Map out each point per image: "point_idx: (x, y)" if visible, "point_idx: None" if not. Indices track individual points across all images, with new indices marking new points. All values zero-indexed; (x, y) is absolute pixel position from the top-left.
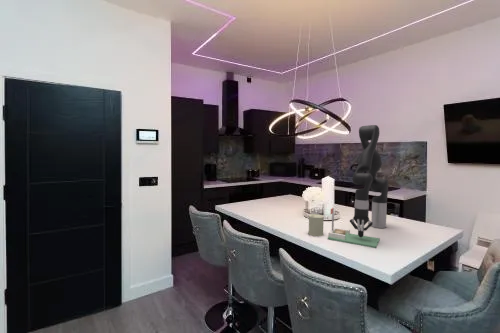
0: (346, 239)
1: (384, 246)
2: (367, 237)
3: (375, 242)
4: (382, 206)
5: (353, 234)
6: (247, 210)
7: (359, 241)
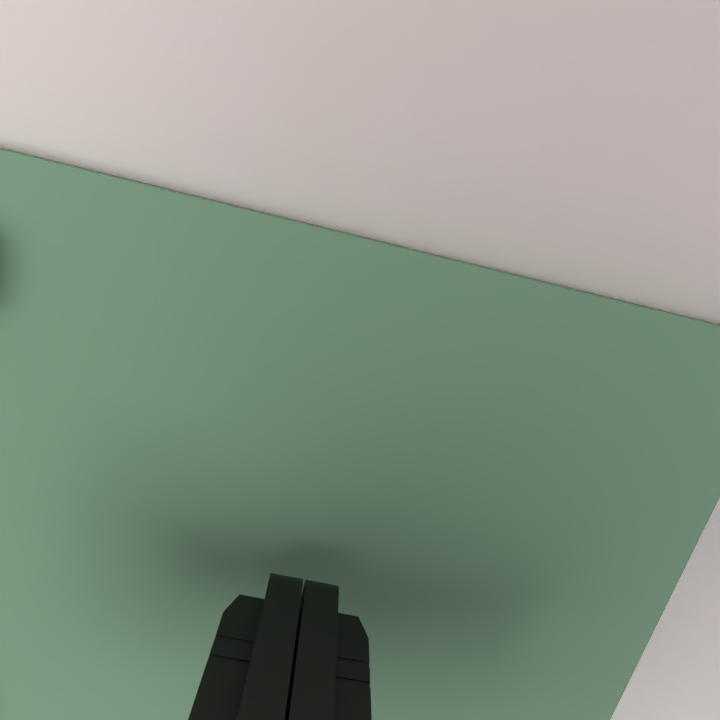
0: (4, 690)
1: (712, 693)
2: (484, 386)
3: (593, 672)
4: None
5: (110, 232)
6: None
7: None
